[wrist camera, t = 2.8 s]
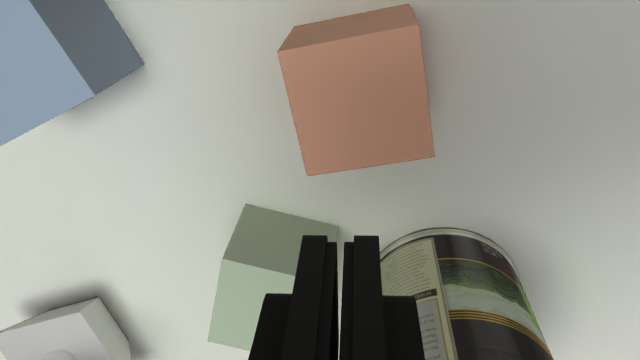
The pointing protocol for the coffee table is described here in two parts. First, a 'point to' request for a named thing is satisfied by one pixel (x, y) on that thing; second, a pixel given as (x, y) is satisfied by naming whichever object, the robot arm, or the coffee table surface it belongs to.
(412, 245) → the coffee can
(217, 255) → the coffee table surface
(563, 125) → the coffee table surface
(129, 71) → the slate block
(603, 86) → the coffee table surface
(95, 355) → the figurine
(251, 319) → the sage block
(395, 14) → the terracotta block
